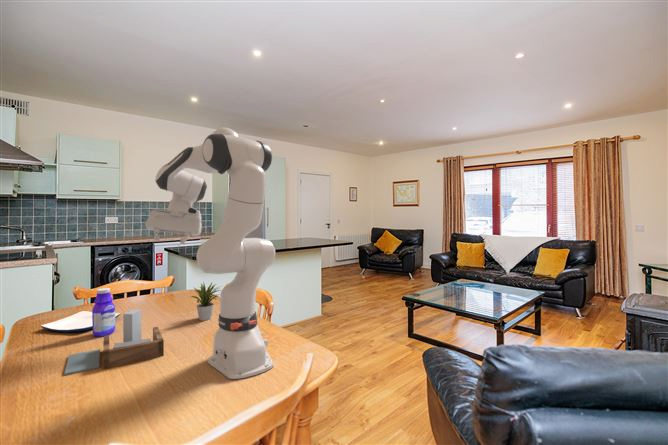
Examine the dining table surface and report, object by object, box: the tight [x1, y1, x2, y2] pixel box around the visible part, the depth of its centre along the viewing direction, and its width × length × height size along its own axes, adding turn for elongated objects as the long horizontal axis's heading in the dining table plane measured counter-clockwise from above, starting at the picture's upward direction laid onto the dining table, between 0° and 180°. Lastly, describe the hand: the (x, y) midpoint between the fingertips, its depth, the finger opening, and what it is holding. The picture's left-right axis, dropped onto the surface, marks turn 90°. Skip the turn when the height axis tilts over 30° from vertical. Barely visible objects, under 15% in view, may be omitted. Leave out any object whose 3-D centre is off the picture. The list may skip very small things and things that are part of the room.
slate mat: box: [64, 349, 101, 376], centre depth 98 cm, size 14×8×1 cm, turn 36°
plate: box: [40, 310, 122, 333], centre depth 130 cm, size 20×20×3 cm
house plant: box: [190, 281, 223, 322], centre depth 138 cm, size 14×14×16 cm
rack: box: [102, 326, 165, 370], centre depth 104 cm, size 15×16×5 cm
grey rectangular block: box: [122, 308, 142, 342], centre depth 107 cm, size 3×5×13 cm, turn 1°
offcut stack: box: [112, 338, 152, 349], centre depth 102 cm, size 4×12×5 cm, turn 119°
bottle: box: [91, 287, 116, 338], centre depth 120 cm, size 7×6×17 cm
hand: (169, 242), depth 122 cm, fingers open, 8 cm apart
